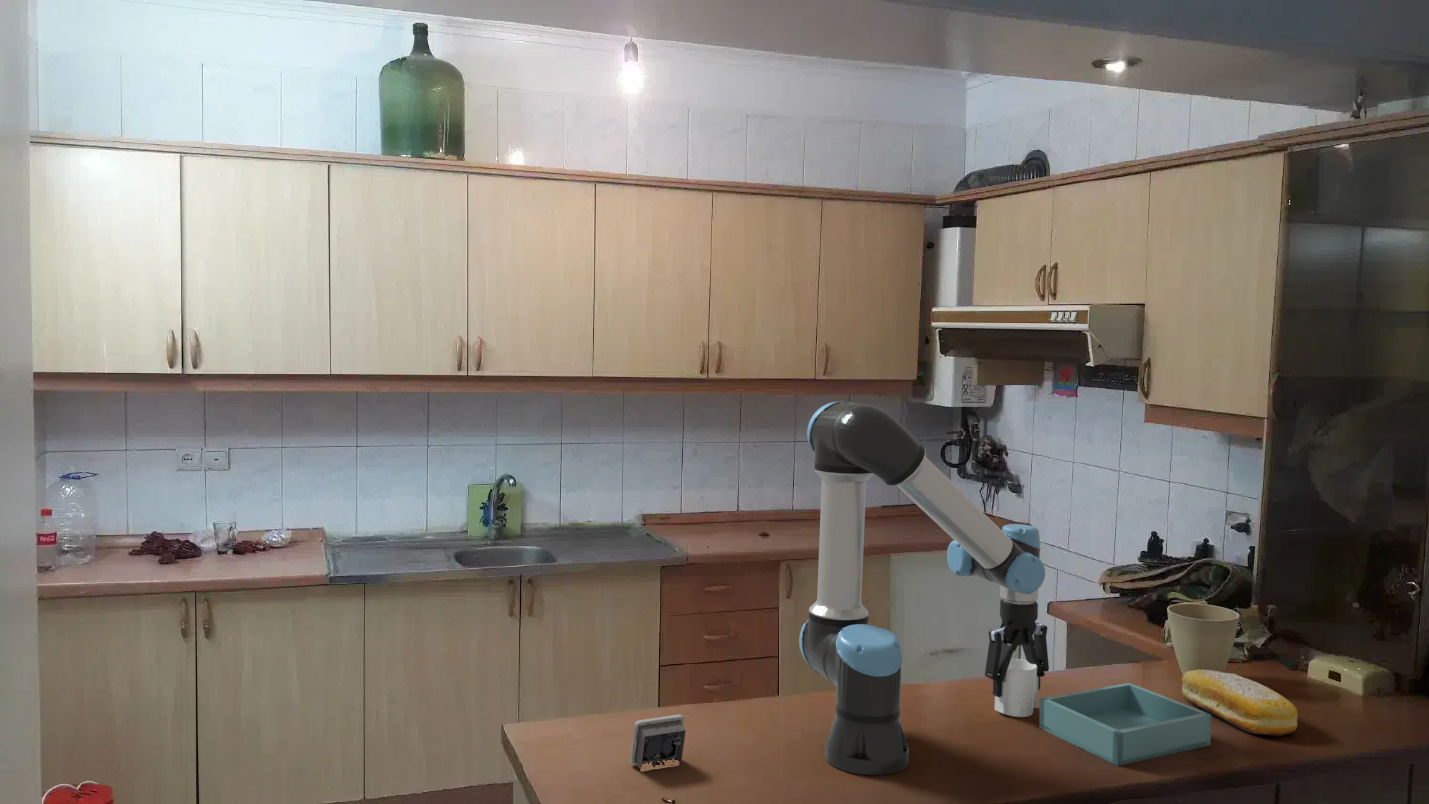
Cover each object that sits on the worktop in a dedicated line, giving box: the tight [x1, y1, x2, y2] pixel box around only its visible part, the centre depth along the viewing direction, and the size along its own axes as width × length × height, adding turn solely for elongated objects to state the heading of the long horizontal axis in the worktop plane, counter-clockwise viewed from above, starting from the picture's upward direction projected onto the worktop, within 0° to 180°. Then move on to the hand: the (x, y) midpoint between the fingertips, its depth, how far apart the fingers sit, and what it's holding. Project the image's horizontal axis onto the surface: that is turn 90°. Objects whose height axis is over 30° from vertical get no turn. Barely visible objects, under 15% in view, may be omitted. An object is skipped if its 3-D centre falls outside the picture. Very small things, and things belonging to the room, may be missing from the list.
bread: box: [1181, 669, 1299, 737], centre depth 211 cm, size 13×26×8 cm, turn 13°
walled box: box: [1038, 682, 1212, 767], centre depth 200 cm, size 24×20×6 cm
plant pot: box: [1166, 602, 1240, 677], centre depth 234 cm, size 15×15×16 cm
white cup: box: [998, 658, 1037, 718], centre depth 213 cm, size 8×8×10 cm
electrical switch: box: [629, 714, 686, 769], centre depth 183 cm, size 9×5×9 cm, turn 113°
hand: (1016, 708), depth 213 cm, fingers closed on white cup, 8 cm apart
